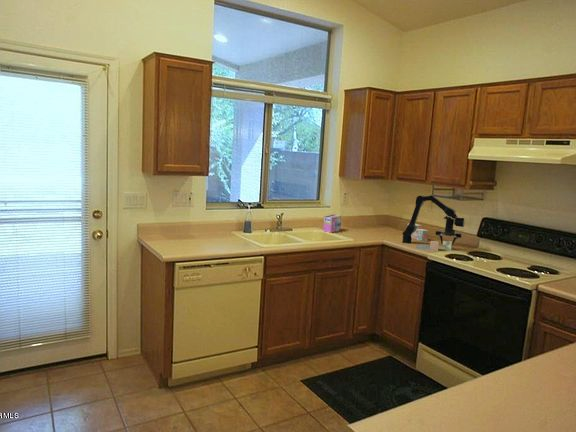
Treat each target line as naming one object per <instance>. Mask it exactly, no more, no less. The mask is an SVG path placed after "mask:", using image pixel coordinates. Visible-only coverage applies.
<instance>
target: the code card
mask: <svg viewBox="0 0 576 432" xmlns="http://www.w3.org/2000/svg"><path fill="white" fill-rule="evenodd" d="M439 248H440V247H438V249H439ZM415 249H419V250H427V251H431V250H430V245H428V244H427V245H426V244H420V243H418V244H417V245H416V248H415ZM433 251H434V252H437V251H436V250H432V252H433Z"/></svg>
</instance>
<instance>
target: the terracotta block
mask: <svg viewBox="0 0 576 432" xmlns="http://www.w3.org/2000/svg"><path fill="white" fill-rule="evenodd" d="M429 246H430V250H429V251H433V250H436V251H435V252H439V248H440V247H439V246H440V241H436V240H430V243H429ZM438 247H439V248H438Z"/></svg>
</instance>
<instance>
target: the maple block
mask: <svg viewBox="0 0 576 432" xmlns="http://www.w3.org/2000/svg"><path fill="white" fill-rule="evenodd" d="M452 242H453V240H446V239H443V243H442V247H443V249H448V250H447V251H450V250H451V248H452ZM443 249H442V250H443Z"/></svg>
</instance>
